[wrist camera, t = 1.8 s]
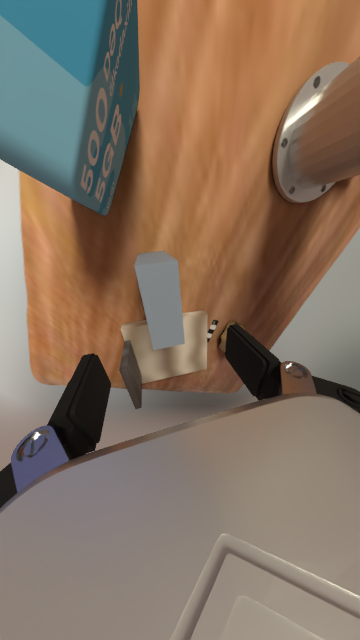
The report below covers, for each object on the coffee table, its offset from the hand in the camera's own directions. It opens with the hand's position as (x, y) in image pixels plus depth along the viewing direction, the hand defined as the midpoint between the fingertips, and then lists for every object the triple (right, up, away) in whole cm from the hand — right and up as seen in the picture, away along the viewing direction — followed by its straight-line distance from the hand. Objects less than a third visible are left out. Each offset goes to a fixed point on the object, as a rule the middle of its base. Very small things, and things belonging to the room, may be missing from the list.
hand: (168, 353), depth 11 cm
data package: (-8, +22, +6) cm, 24 cm away
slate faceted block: (-3, +9, +15) cm, 17 cm away
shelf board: (-2, -3, +22) cm, 22 cm away
